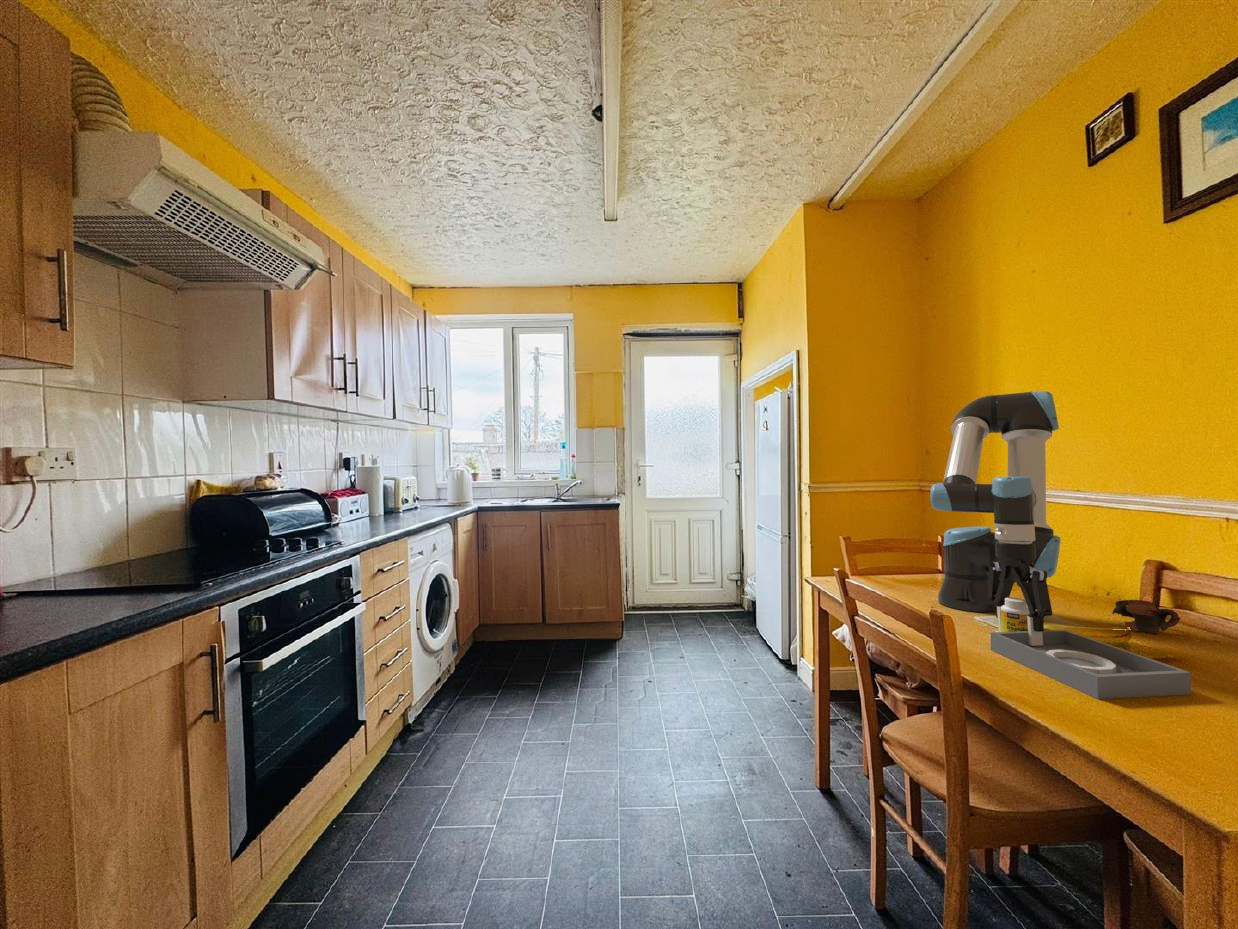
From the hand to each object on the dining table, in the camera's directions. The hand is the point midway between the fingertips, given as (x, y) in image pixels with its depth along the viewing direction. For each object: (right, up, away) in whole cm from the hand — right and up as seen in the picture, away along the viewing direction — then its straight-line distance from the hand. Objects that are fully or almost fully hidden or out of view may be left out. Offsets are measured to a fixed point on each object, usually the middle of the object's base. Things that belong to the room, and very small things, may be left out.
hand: (1019, 639), depth 117 cm
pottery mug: (+38, -1, +8) cm, 39 cm away
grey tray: (0, -1, -15) cm, 15 cm away
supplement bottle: (0, -1, +1) cm, 2 cm away
